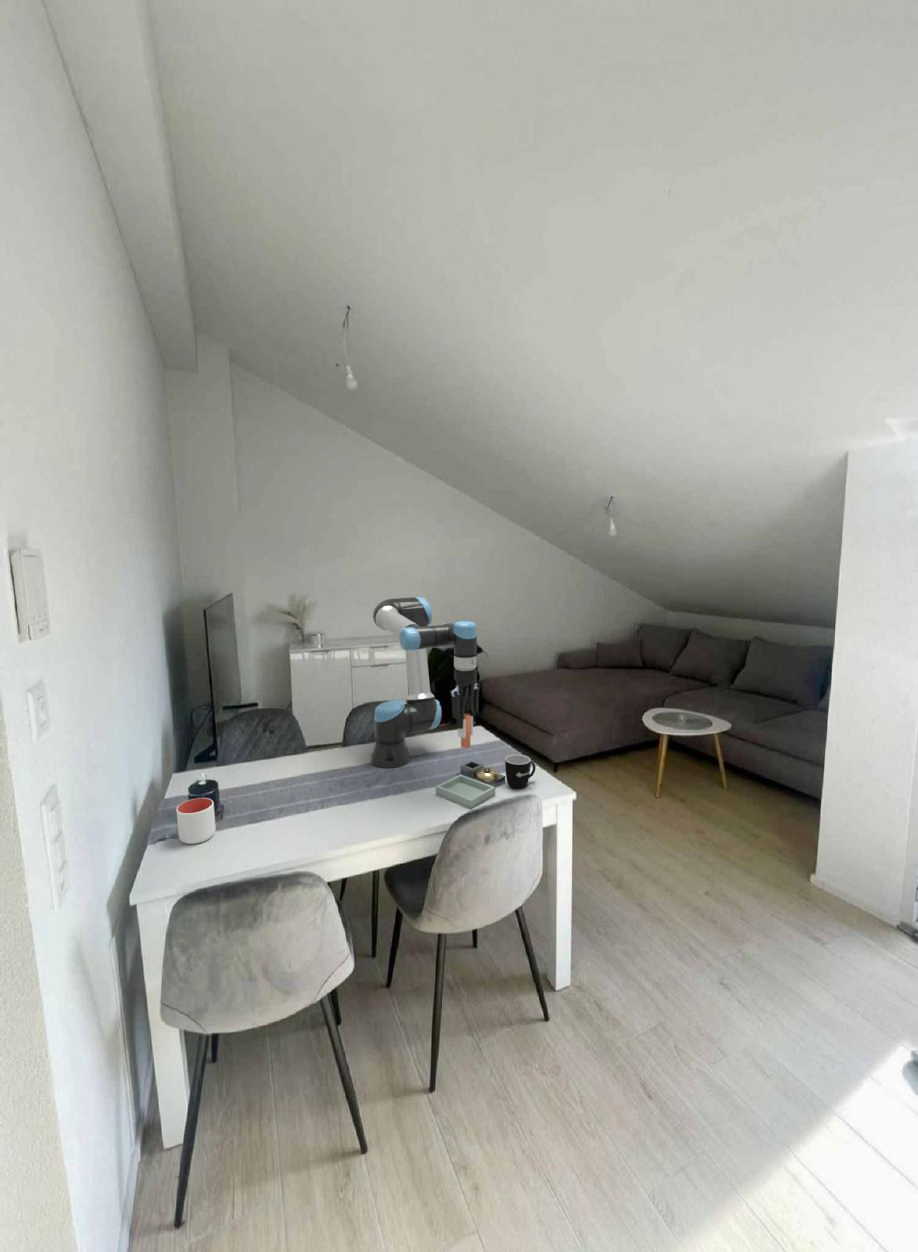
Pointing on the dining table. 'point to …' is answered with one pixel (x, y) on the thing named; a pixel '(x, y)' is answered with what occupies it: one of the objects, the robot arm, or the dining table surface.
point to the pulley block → (481, 773)
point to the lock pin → (466, 741)
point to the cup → (196, 820)
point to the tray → (465, 791)
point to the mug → (518, 771)
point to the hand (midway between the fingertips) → (465, 735)
